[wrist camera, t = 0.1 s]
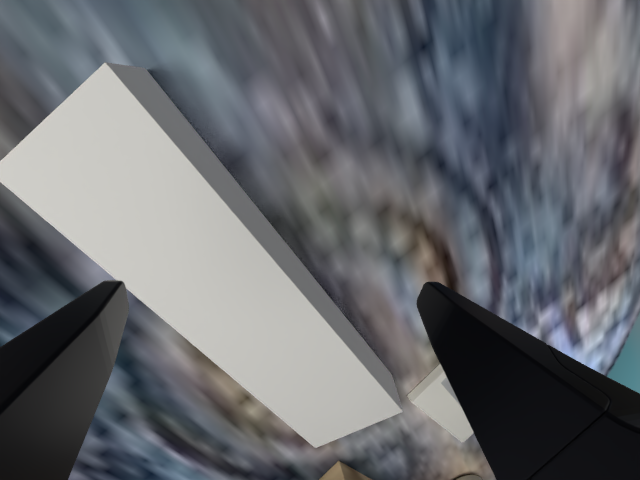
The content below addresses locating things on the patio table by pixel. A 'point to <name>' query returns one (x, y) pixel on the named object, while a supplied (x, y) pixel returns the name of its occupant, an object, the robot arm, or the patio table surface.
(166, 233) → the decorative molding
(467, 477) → the travel mug
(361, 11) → the patio table surface
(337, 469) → the oak bar
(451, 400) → the fulcrum stand
